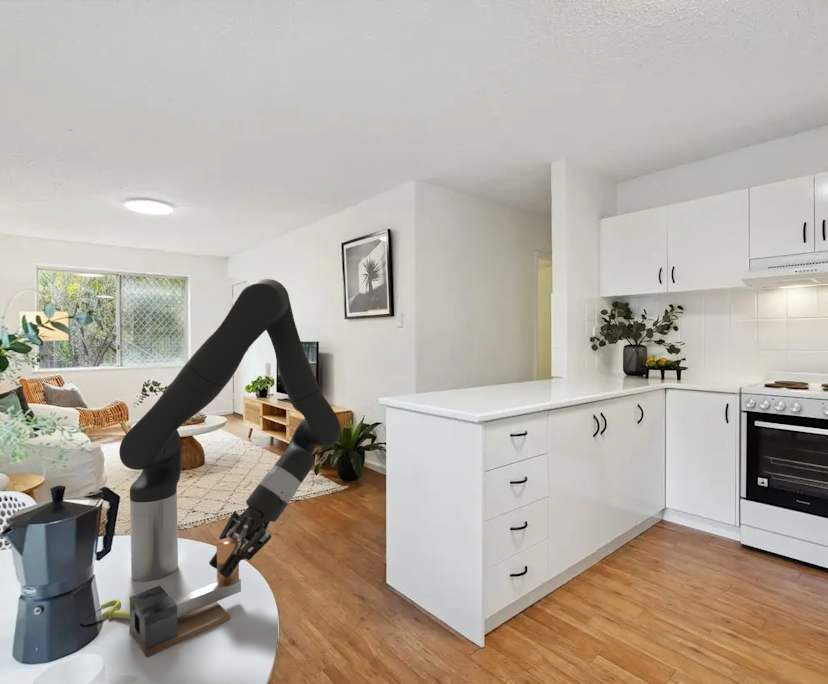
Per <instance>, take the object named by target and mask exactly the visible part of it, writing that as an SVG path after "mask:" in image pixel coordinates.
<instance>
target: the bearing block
mask: <svg viewBox="0 0 828 684" xmlns="http://www.w3.org/2000/svg"><path fill="white" fill-rule="evenodd" d="M172 599H173V598H172V597H171V596H170V595H169V594H168V592H166V591H165V589H164V588H163V587H162V586H161V585H158V586H155V587H152V588H149V589H145V590H143V591H140V592H138V593H135V594H132V595H129V611H130V619H129V623H130V624H129V625H130V627H131V629H132V630H133V632H134V633H135V635H136V636H137V638H138V640H139V641H140V643H141V644H142V646H143V647H144V649H145V650H147V649H150V648H152V647H154V646H157V645H159V644H161V643H163V642H166V641H168V640H170V639H172V638H175V637H177V604H176V603H175V602H174V601H173V600H172Z"/></svg>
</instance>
